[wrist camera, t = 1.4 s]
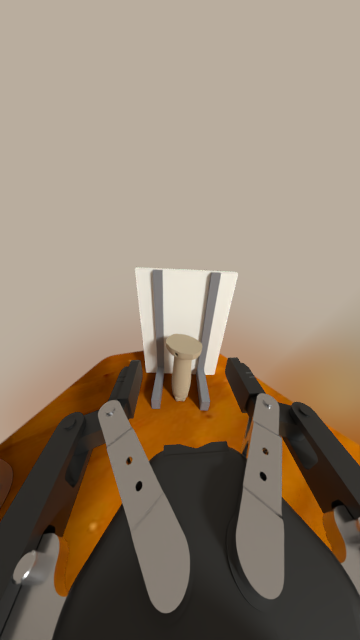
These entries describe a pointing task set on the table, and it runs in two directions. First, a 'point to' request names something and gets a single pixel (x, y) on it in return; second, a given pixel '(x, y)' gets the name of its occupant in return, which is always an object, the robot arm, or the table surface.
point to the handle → (182, 362)
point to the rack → (183, 319)
